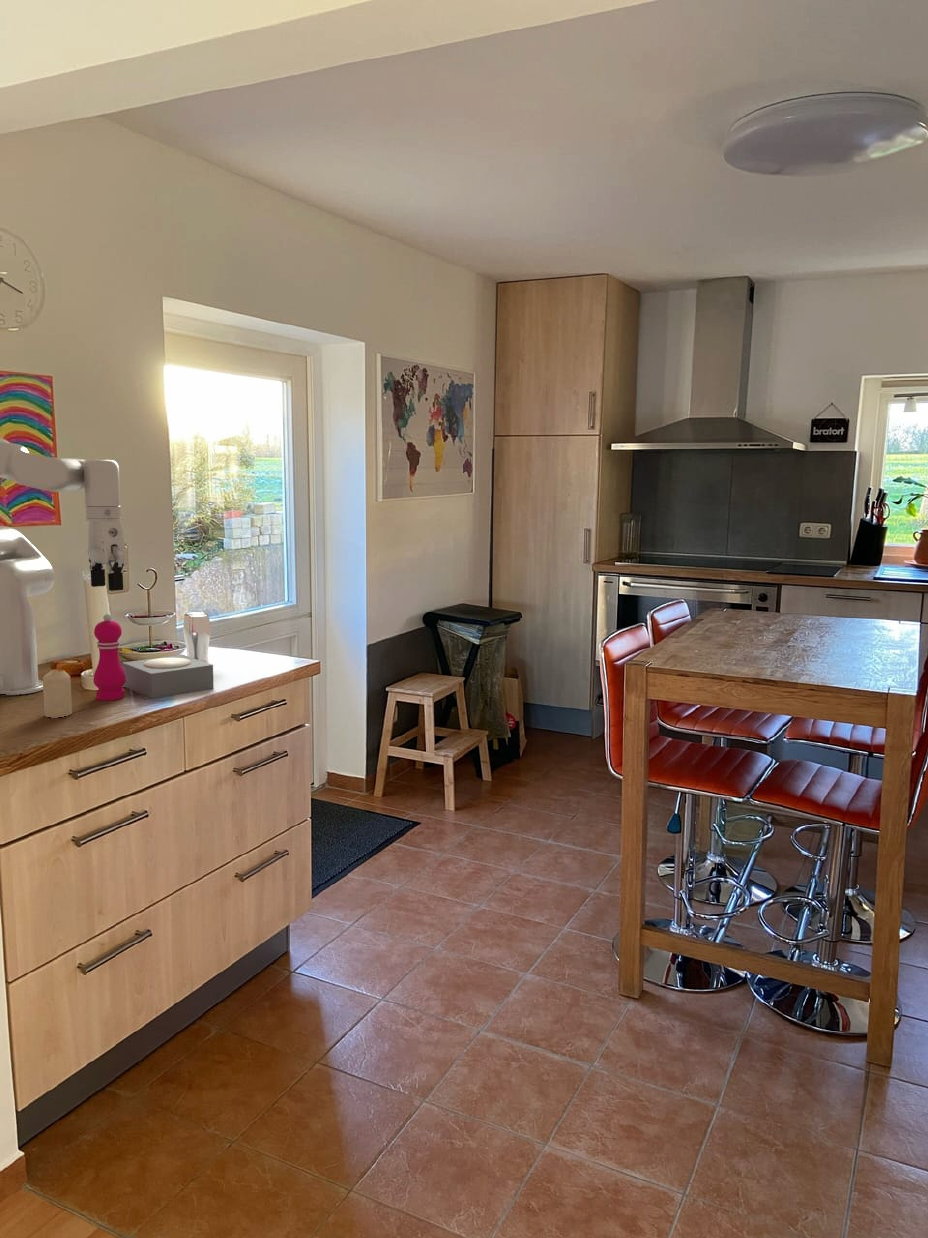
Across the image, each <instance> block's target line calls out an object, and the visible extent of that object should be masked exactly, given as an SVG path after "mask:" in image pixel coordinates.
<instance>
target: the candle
mask: <svg viewBox="0 0 928 1238" xmlns="http://www.w3.org/2000/svg"><path fill="white" fill-rule="evenodd" d="M42 681H43V690H42V691H43V707H44V709H43V710H44V711H43V712H44V716H46V717H45V718H47V717H51V718H50V719H59V718H58V717H63V718H65V717H64V716H67V717H69V716H68V715H70V714H73V702H72V700H73V699H72V685H71V684H72V683H71V675H70V674H69V673H68V672H66V671H65V670H64V669H62V670H58V669H56V668H55V669H51V670H49V672H47V673H46V674H44V676H43V677H42ZM70 716H71V715H70Z"/></svg>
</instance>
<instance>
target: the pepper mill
mask: <svg viewBox="0 0 928 1238" xmlns="http://www.w3.org/2000/svg"><path fill="white" fill-rule="evenodd" d="M102 619H103V621H100V622H98V623H96V625H95V627H94V630H93V633H94V637H95V638H96V639H97V642H96V644H97V646H96V648H97V649H98V651H99V655H98V657H99V658H98V659H99V660H98V663H97V666H96V668H95V671H94V673H93V684H94V686H95V687H96V688H98V689H97V690H96V691H95V692H96V693H95V694H96V695H95V696H96V699H97V700H99V701H110V702H111V701H117V700H121V699H124V698H125V695H126V694H125V692H126V691H125V688H123V687H124V686H123V685H124V684H125V682H126V674H125V671H124V669H123V667H122V662H121V661H120V656H119V648H120V646H121V645H120V643H121V641H120V640H119V639H120V638H121V636H122V627H121V625H120V624H119V623H118V622H117V621H114V620H112V616H111V615H110V613H106V614H104V615H103V618H102Z"/></svg>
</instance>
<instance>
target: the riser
mask: <svg viewBox="0 0 928 1238" xmlns="http://www.w3.org/2000/svg"><path fill="white" fill-rule="evenodd" d="M121 665H122V667H123V669H124V671H125V674H126V682H125V684H124V685H123V686H122V687H125V688H127V689H129V690H131V691H134V692H136V693H138V694H141V695H143V696H145V697H148V698H150V699H157V698H164V697H169V696H170V697H171V696H176V695H180V694H181V695H182V694H189V693H194V692H199V691H200V692H201V691H206V690H212V689H214V685H215V684H214V665H213V664H212V663H209V662H208V663H206V662H203V661H200V660H197V659H194V658H191V657H188V656H187V655H185V654H177V655H176V654H175V655H171V656H163V657H155V658H146V659H140V660H139V659H138V660H132V661H123V662H121Z"/></svg>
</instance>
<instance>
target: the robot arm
mask: <svg viewBox="0 0 928 1238" xmlns="http://www.w3.org/2000/svg"><path fill="white" fill-rule="evenodd" d="M0 479H4V480H9V481H12V482H14V483H15V484H17V485H21V486H23V487H29V488H34V489H38V490H41V491H45V492H46V491H47V492H53V493H55V492H56V493H59V492H60V493H61V492H62V493H63V492H84V502H85V503H84V504H85V505H84V506H85V521H87V522H88V524H87V525H88V526H87V545H88V546H87V547H88V549H87V554H88V562H89V563H90V564H89V570H90V585H91V586H90V587H94V588H95V587H105V586H106V569H105V568H104V566H105V565H106V566H107V569H108V573H107V579H108V580H107V581H108V583H107V584H108V585H107V586H108V591H111V592H115V591H123V590H124V576H123V575H124V563H125V562H126V550H125V549H126V548H125V540H124V531H123V527H122V523H121V521H122V509H121V508H122V507H121V487H120V486H121V485H120V484H121V483H120V468H119V463H117V461H115V460H113V459H85V458H72V457H69V458H66V457H50V456H45V455H39V454H36V453H30V451H29V450H28V448H26V447H25V446H24V445H22V444H17V443H12V442H9V441H8V440H6V439H5V438H3V437H0ZM55 582H56V573H55V570H54V568H53V566H52V565H51V563H50V562H49V560H48V559H47V558H46V557H45V556H44V555H43V554H42V553H41V552H40V551H39V550H38V548H36V547H35V545H33V544H32V542H30V541H29V540H28V538H26V536H24V535H23V533H21V532H20V531H18V530H17V529H15V528H13V527H10V526H6V525H0V694H6V695H5V696H20V694H21V695H26V694H28V695H29V694H32V693H33V694H34V693H37V692H40V691H43V680H40V679H39V670H38V668H39V667H38V666H39V665H38V652H37V649H38V648H37V633H36V632H37V631H36V629H37V628H36V617H35V612H34V610H33V607H32V605H31V602H30V600H29V598H28V597H34V596H39V595H42V594H45V593H47V592H49V591H50V590H52V588H53V587H54V585H55Z"/></svg>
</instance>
